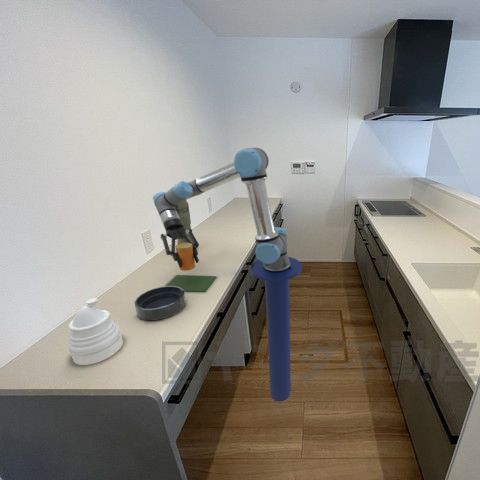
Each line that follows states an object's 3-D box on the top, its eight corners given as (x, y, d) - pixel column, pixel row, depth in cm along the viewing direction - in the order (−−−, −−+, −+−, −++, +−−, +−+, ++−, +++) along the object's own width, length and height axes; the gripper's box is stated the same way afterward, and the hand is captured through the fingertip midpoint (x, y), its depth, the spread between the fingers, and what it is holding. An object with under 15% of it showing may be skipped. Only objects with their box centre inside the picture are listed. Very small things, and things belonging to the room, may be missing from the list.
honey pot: (119, 330, 95) (107, 287, 88) (126, 350, 86) (112, 304, 80) (71, 348, 86) (54, 301, 80) (73, 372, 78) (54, 322, 71)
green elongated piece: (199, 247, 168) (191, 193, 155) (188, 255, 157) (179, 197, 144) (186, 246, 169) (177, 192, 156) (174, 254, 158) (164, 196, 145)
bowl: (193, 297, 116) (191, 286, 114) (172, 322, 100) (170, 310, 98) (154, 296, 116) (151, 285, 114) (127, 321, 100) (124, 309, 98)
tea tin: (198, 264, 127) (194, 242, 123) (191, 271, 120) (187, 248, 116) (183, 263, 127) (180, 242, 123) (176, 270, 120) (172, 248, 116)
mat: (216, 277, 133) (216, 276, 133) (205, 292, 120) (204, 291, 120) (177, 276, 133) (176, 275, 133) (161, 290, 120) (161, 289, 120)
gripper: (191, 222, 134) (208, 261, 129) (147, 229, 121) (165, 273, 116) (194, 214, 129) (212, 254, 124) (148, 221, 116) (166, 267, 111)
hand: (189, 263), depth 120 cm, fingers closed on tea tin, 7 cm apart
